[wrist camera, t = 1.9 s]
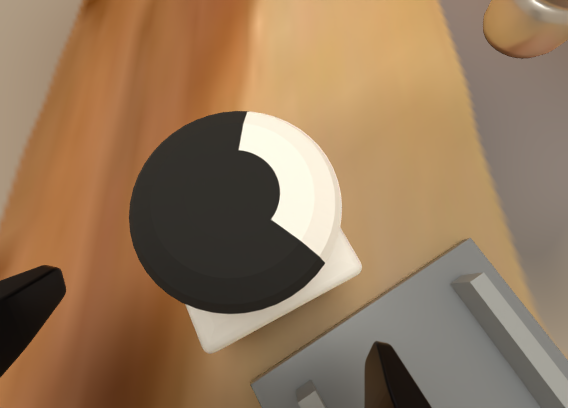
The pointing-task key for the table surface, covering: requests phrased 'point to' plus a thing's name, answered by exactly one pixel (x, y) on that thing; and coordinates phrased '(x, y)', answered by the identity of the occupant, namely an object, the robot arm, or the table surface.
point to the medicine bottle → (240, 223)
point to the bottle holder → (431, 345)
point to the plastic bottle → (526, 26)
